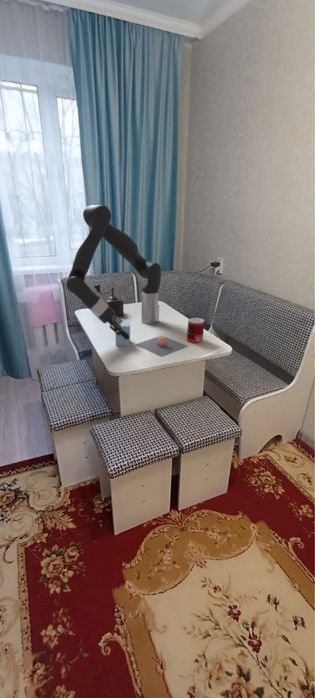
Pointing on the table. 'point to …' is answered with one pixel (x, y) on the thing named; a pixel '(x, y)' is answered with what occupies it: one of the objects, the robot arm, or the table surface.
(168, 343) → the mat
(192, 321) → the canned food
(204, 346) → the table surface
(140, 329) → the table surface
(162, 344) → the peach rounded cylinder
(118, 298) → the pepper mill
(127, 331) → the light blue tall box
